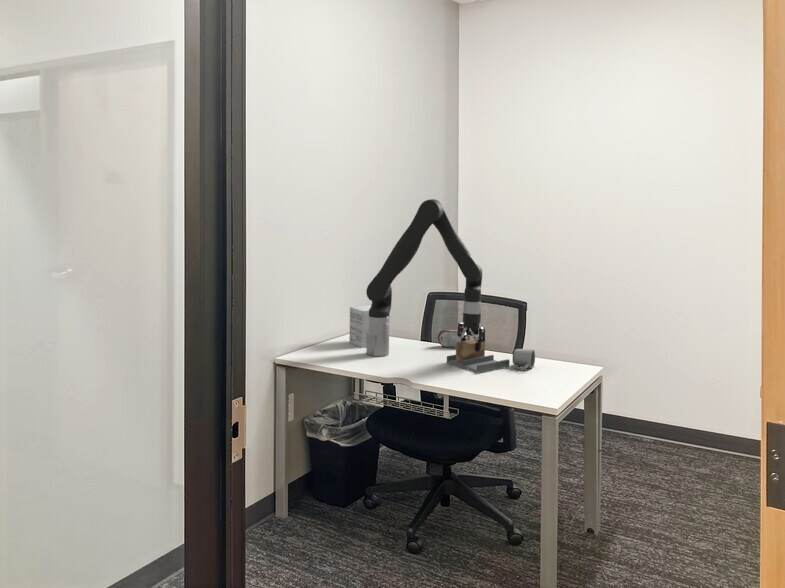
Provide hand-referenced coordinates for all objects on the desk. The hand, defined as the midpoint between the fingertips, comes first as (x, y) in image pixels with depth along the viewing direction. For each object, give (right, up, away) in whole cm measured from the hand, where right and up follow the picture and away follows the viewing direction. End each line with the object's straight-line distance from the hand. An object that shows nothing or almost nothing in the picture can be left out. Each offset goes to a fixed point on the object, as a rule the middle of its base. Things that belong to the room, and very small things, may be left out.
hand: (470, 349), depth 261 cm
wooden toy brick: (0, -5, +1) cm, 5 cm away
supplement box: (-45, -1, +33) cm, 56 cm away
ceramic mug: (+21, -7, -5) cm, 23 cm away
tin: (-4, -2, +29) cm, 30 cm away
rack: (+3, -6, -3) cm, 7 cm away
